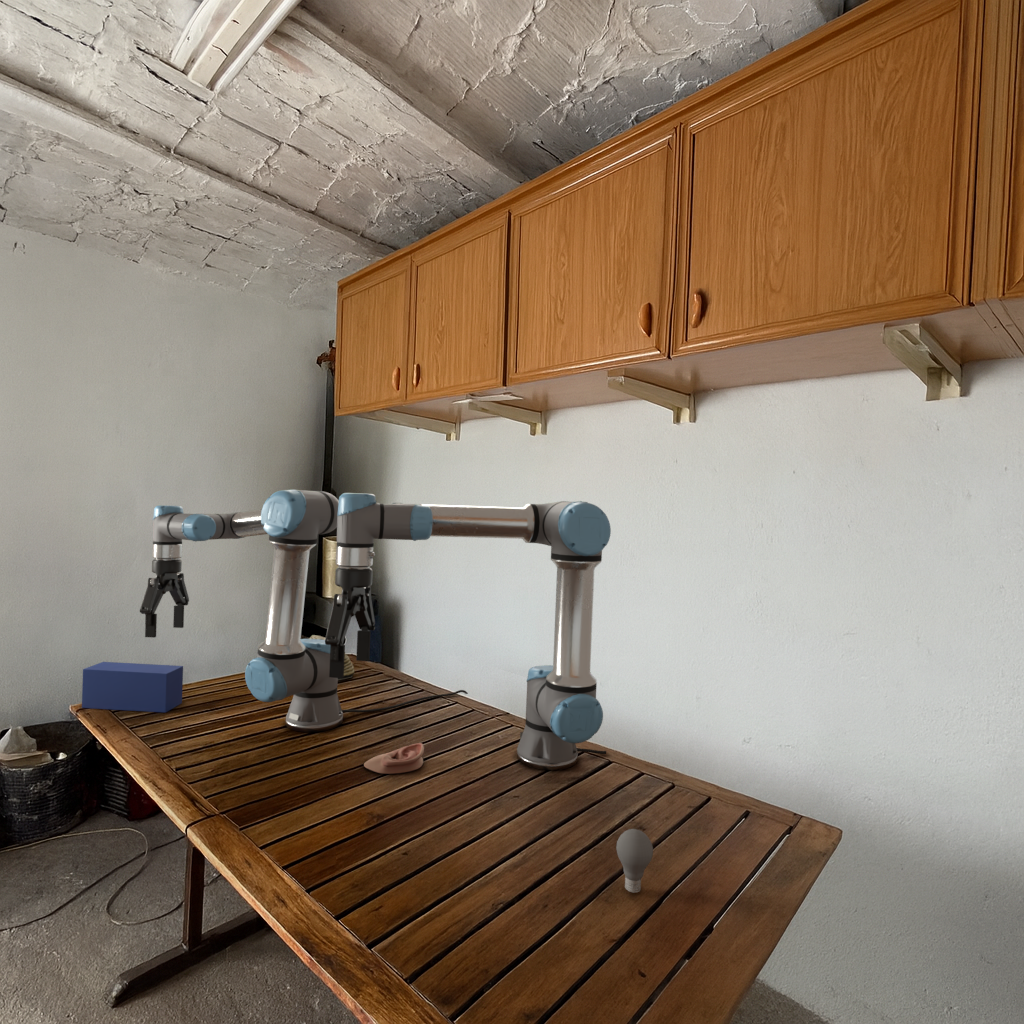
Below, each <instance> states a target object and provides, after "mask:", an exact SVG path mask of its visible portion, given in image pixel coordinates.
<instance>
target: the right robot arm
mask: <svg viewBox="0 0 1024 1024" xmlns="http://www.w3.org/2000/svg"><path fill="white" fill-rule="evenodd" d="M338 501H339V504H338V515H337V528H336V546H335V565H336V566H338V567H336V569H335V575H334V584H335V586H337V587H340V588H341V593H334V595H333V604H332V608H331V612H330V613H331V614H330V618H329V621H328V626H327V629H326V635H325V644H326V645H330V670H329V677H333V678H343V677H344V658H345V654H346V644H344V641H345V639H346V635H347V632H348V629H349V627H350V623H351V620H352V618H353V617H355V619H356V622H357V625H358V628H359V630H357V631H356V635H357V636H356V657H355V658H356V659H355V660H356V661H357V662H370V655H371V631H373V632H374V631H375V630H376V619H375V613H374V607H373V600H372V587H371V586H372V585H373V572H374V571H373V568H371V566H373V563H374V557H375V556H376V552H375V551H374V546H375V545H374V544H375V543H374V542H375V540H398V541H399V540H400V541H414V542H416V541H427V540H429V539H430V538H431V537H435V538H436V537H437V538H439V537H440V538H478V539H479V538H480V539H517V540H519V539H521V540H523V542H524V543H526V544H539V545H544V546H547V547H550V561H551V562H552V563H553V564H554V565H555V567H556V581H555V582H556V586H555V590H556V591H555V609H554V611H555V612H554V633H553V634H554V636H553V637H554V638H553V657H552V658H553V659H552V660H553V661H552V664H553V665H552V664H549V665H548V664H545V665H536V666H532V667H530V668H529V669H528V671H527V677H526V701H525V702H526V703H525V723H524V728H523V731H520V732H519V739H520V740H519V741H518V742H519V743H518V744H517V747H516V758H517V760H518V761H519V762H520V763H521V764H522V765H524V766H527V767H529V768H533V769H535V770H543V771H560V770H561V771H562V770H566V769H570V768H571V767H573V766H575V765H577V764H578V757H579V756H578V755H579V752H580V753H589V754H597V755H607V750H598V749H597V750H596V749H590V748H581V747H580V748H579V747H577V744H581V743H585V742H587V741H589V740H590V739H592V738H593V736H595V735H596V734H597V733H598V731H599V730H600V728H601V726H602V725H603V720H604V711H603V708H602V705H601V703H600V701H599V700H598V699H597V686H598V685H597V683H598V681H597V678H596V677H595V676H594V675H593V674H592V672H591V664H592V640H593V639H592V638H593V617H594V614H593V613H594V591H595V571H596V568H597V567H598V566H599V565H600V564H601V563H602V560H603V559H602V558H603V550H604V548H605V547H607V545H608V543H609V541H610V539H611V534H612V530H611V523H610V520H609V518H608V516H607V514H606V513H605V512H604V511H603V510H602V508H600V507H599V506H598V505H596V504H594V503H590V502H588V501H581V500H578V501H570V500H569V501H568V500H561V501H554V502H548V503H547V502H546V503H526V504H525V505H524V506H523V507H515V506H514V507H513V506H512V507H511V506H510V507H509V506H484V505H483V506H482V505H454V504H452V505H451V504H450V505H449V504H426V503H425V504H424V503H421V504H420V503H403V502H393V503H380V502H377V500H376V495H375V494H373V493H360V492H357V493H356V492H344V493H342V494H341V495H339V497H338Z"/></svg>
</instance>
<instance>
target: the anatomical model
mask: <svg viewBox="0 0 1024 1024" xmlns="http://www.w3.org/2000/svg"><path fill="white" fill-rule="evenodd" d="M424 752H425V745H424V744H423V743H422V742H417V743H412V744H410V745H406V746H402V747H399V748H398V749H394V750H391V751H390V752H386V753H381V754H378V755H376V756H374V757H371V758H370V759H368V760H366V761H365V762H364V764H363V767H364V768H366V769H367V770H369V771H371V772H375V773H378V774H385V775H387V774H388V775H390V774H403V773H408V772H413V771H415V770H419V769H420V768H421V767H422V766H423V764H424V759H423V755H424Z"/></svg>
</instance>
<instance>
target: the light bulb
mask: <svg viewBox="0 0 1024 1024" xmlns="http://www.w3.org/2000/svg"><path fill="white" fill-rule="evenodd" d="M615 849H616V854H617V857H618V859H619V861H620V863H621V865H622V867H623V873H624V874H623V875H624V876H625V878H624V888H625V890H627V891H628V892H630V893H634V894H635V893H639V892H640V891H641V889H642V887H641V886H642V879H643V877H644V875H645V871H646V868H647V867H648V866H649V864H650V863H651V861H652V859H653V855H654V847H653V843H652V841H651V838H649V836H648V835H647V834H646V833H645V832H643V831H642V830H641V829H636V828H629V829H627V830H625V831H623V832H622V833H621V834H620V835H619V837H618V839H617V841H616V847H615Z"/></svg>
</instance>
